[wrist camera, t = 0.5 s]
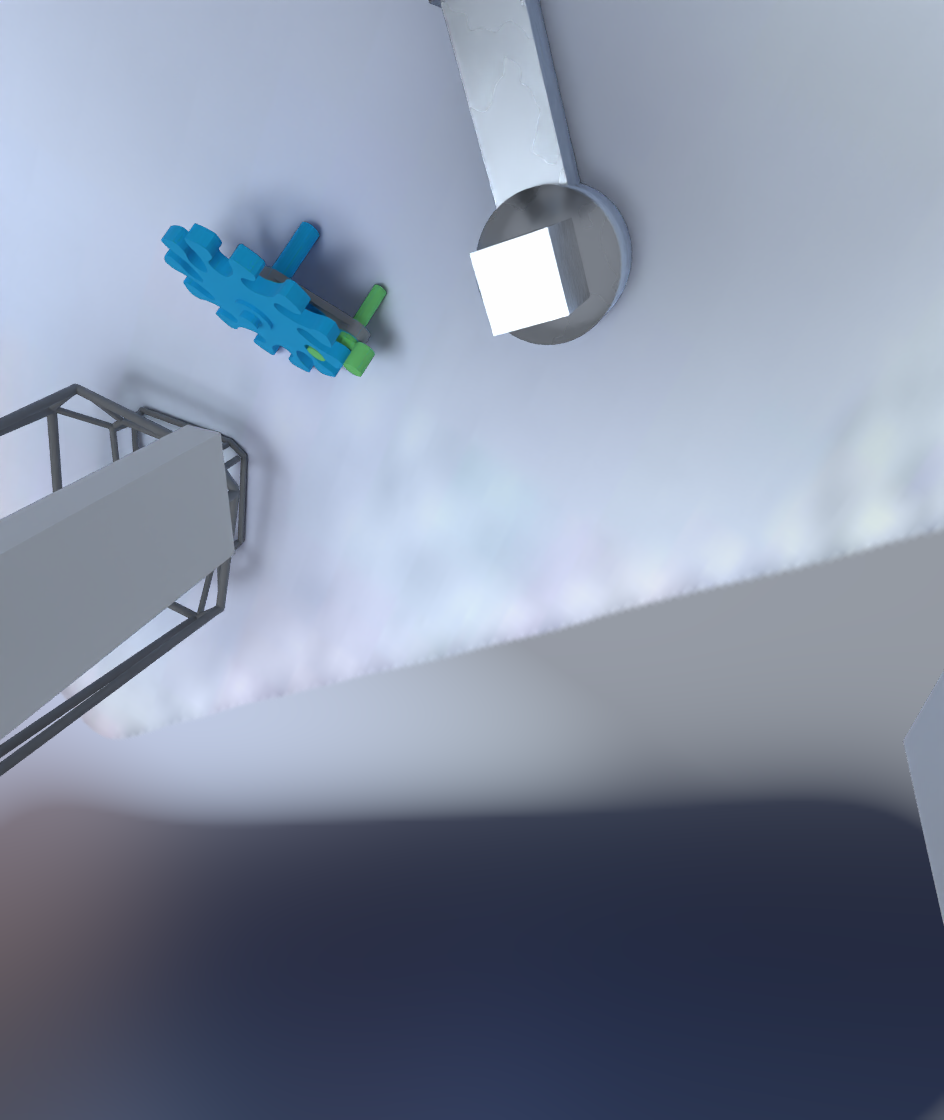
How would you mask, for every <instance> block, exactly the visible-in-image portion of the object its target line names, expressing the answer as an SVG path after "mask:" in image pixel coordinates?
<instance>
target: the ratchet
mask: <svg viewBox="0 0 944 1120" xmlns="http://www.w3.org/2000/svg"><path fill="white" fill-rule="evenodd" d="M429 3H430V4H433V5H435V6H438V7H440V8H442V10H443V14H444V17H445V21H446V25H447V28H448V32H449V36H450V39H451V43H452V47H453V50H454V54H455V58H456V61H457V65H458V69H459V73H460V76H461V80H462V84H463V87H464V91H465V95H466V98H467V102H468V106H469V109H470V113H471V117H472V120H473V124H474V128H475V131H476V135H477V139H478V142H479V146H480V150H481V153H482V157H483V161H484V164H485V168H486V172H487V175H488V179H489V183H490V186H491V190H492V194H493V197H494V201H495V205H496V208H497V209H496V210H495V211H494V213H493V214H492V215H491V217H490V218H489V220H488V221H487V223H486V225H485V227H484V229H483V231H482V234H481V236H480V239H479V243H478V247H477V251H476V252H473V253H470V258H471V261H472V264H473V268H474V271H475V275H476V279H477V284H478V288H479V292H480V295H481V297H482V300H483V302H484V305H485V309H486V312H487V316H488V319H489V322H490V326H491V329H492V333H493V336H497V335H500V334H504V333H507V332H509V333H510V334H512V335H513V336H515V337H517V338H519V339H521V340H524V341H527V342H530V343H534V344H541V345H555V344H561V343H565V342H568V341H571V340H574V339H576V338H578V337H580V336H582V335H583V334H585V333H586V332H588V331H589V330H590V329H592V328H593V327H594V326H595V325H596V324H597V323H598V322H599V321H600V320H601V319H602V318H603V317H604V316H605V315H606V314H607V312H608V311H609V310H610V309H611V308H612V307H613V306H614V305H615V303H616V302H617V300H618V299H619V298H620V296H621V294H622V292H623V290H624V288H625V286H626V283H627V281H628V278H629V274H630V269H631V261H632V247H631V240H630V235H629V232H628V228H627V226H626V223H625V221H624V219H623V217H622V215H621V214H620V212H619V210H618V209H617V208H616V206H615V205H614V204H613V203H612V202H611V201H610V200H609V199H608V198H607V197H606V196H605V195H603V194H602V193H601V192H599V191H598V190H596V189H594V188H592V187H590V186H587V185H584V184H581V183H580V179H579V174H578V170H577V166H576V161H575V157H574V152H573V148H572V144H571V139H570V135H569V130H568V126H567V122H566V117H565V113H564V108H563V104H562V99H561V95H560V91H559V86H558V82H557V77H556V73H555V69H554V64H553V60H552V55H551V51H550V47H549V42H548V38H547V33H546V29H545V24H544V20H543V16H542V11H541V7H540V2H539V0H429Z"/></svg>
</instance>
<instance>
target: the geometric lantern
mask: <svg viewBox="0 0 944 1120" xmlns="http://www.w3.org/2000/svg"><path fill="white" fill-rule="evenodd" d="M76 394H78V395H80V396H82V397H84V398H86V399H88V400H90V401H92V402H93V403H94V404H96V405H97V406H98V407H100V408H101V409H102V410H104V411H105V412H106V413H108V414H109V415H110V416H111V417H113V418H114V419H115V420H117V421H116V422H114V423H113V424H112V423H109V422H105V421H102V420H99V419H96V418H92V417H89V416H86V415H83V414H80V413H76V412H73V411H70V410H67V409H64V408H60V406H61V405H63V404H64V403H65V402H66V401H67V400H69V399H70V398H71V397H72V396H74V395H76ZM57 413H59V414H62V415H65V416H69V417H72V418H75V419H79V420H82V421H85V422H88V423H92V424H95V425H98V426H101V427H105V428H108V429H109V430H110V439H111V448H112V457H113V462H115V461H117V460H119V454H118V444H117V435H116V431H119V430H121V429H124V428H126V427H130V428H132V444H133V452H134V451H136V450H138V449H139V443H138V431H140V432H143V433H145V434H148V435H150V436H153V437H155V438H158V439H160V438H162V437H164V436H166V435H168V434H170V433H172V432H173V431H171V430H169V429H167V428H165V427H163V426H161V425H159V424H157V423H155V422H153V421H151V420H149V419H147V418H145V417H143V414H147V415H149V416H152V417H155V418H158V419H160V420H163V421H166V422H168V423H171V424H174V425H177V426H179V427H184V426H186V425H191V424H188V423H185V422H183V421H180V420H177V419H174V418H172V417H169V416H166V415H163V414H161V413H158V412H155V411H152V410H150V409H147V408H143V407H141V408H140V409H139V410H138V411H137V412H133V411H131V410H129V409H127V408H125V407H123V406H121V405H119V404H117V403H115V402H113V401H111V400H109V399H107V398H105V397H103V396H101V395H99V394H97V393H95V392H93V391H91V390H89V389H87V388H85V387H83V386H81V385H78V384H73V385H71V386H69V387H66V388H64V389H62V390H60V391H58V392H56V393H54V394H51V395H49V396H47V397H45V398H43V399H41V400H38V401H36V402H34V403H32V404H30V405H28V406H25V407H23V408H21V409H19V410H17V411H15V412H13V413H10V414H8V415H6V416H4V417H2V418H0V436H2V435H4V434H6V433H9V432H11V431H13V430H16V429H18V428H20V427H23V426H25V425H27V424H30V423H32V422H34V421H37V420H39V419H41V418H44V417H46V416H47V422H48V435H49V448H50V461H51V474H52V487H53V493H54V492H56V491H58V490H60V489H62V477H61V463H60V448H59V433H58V419H57ZM121 416H122V417H121ZM123 417H124V418H123ZM191 426H194V425H191ZM195 427H196V426H195ZM221 439H222V442H223V443H222V448H223V450H224V449H226V448H228V447H229V446H231V447H232V448H233V449H234V450H235V451H236V452H237V453H238V454H239V455H240V456H241V458H240V457H239V456H235V457H234V458H232V459H231V460H229V461H228V462H226V463H224V465H225V473H226V481H227V488H228V490H229V491H228V498H229V507H230V515H231V523H232V532H233V540H234V533H235V525H236V518H237V510H238V502H239V522H238V540H236V541H234V548H235V550H236V549H237V548H238V547H239V546H240V545H241V544H242V543H243V542H244V517H245V494H246V470H247V458H246V457H247V454H246V453H245V452H244V451H243V450H242V449H241V448H240V447H239V446H238V445H237V444H236V443H235V442H234V441H233V440H232V439H231V438H227V437H224V436H221ZM240 459H241V469H240V490H239V486H238V484H237V483H236V482H235V480H234V479H233V478H232V476H231V475H230V473H229V472H228V471H227V469H228V468H230V467H231V466H233V465H234V464H236V463H237V462H239V461H240ZM230 563H231V557H230V558H229V559H227V560H226V561H225V562H224V563H222V564H221V565H220V566H219V567H217V576H218V594H217V603H216V606H215V607H213V608H211V609H208V610H206V611H204V608H205V604H206V600H207V596H208V592H209V588H210V584H211V580H212V576H213V572H214V571H212V572H211V573H210V574H209V575H207V576H206V580H205V584H204V588H203V592H202V596H201V600H200V604H199V608H198V611H197V613H196V612H194V611H192V610H190V609H188V608H186V607H184V606H182V605H180V604H178V603H176V602H173V603H172V604H171V605H170V606H168V608H170V609H172V610H174V611H176V612H178V613H180V614H182V615H184V616H186V617H188V619H187V620H185V621H184V622H182V623H181V624H179V625H178V626H176V627H175V628H173V629H172V630H170V631H169V632H167V633H166V634H164V635H163V636H161V637H160V638H158V639H157V640H155V641H154V642H153V643H151V644H150V645H148V646H147V647H145V648H144V649H142V650H141V651H139V652H138V653H136V654H135V655H133V656H132V657H130V658H129V659H127V660H126V661H124V662H123V663H121V664H120V665H118V666H117V667H115V668H114V669H112V670H111V671H110V672H108V673H107V674H105V675H104V676H102V677H101V678H99V679H98V680H96V681H95V682H93V683H92V684H90V685H89V686H87V687H86V688H84V689H83V690H81V691H80V692H78V693H77V694H75V695H74V696H72V697H71V698H69V699H68V700H67V701H65V702H64V703H62V704H61V705H59V706H58V707H56V708H55V709H53V710H52V711H50V712H49V713H47V714H46V715H44V716H43V717H41V718H40V719H38V720H37V721H35V722H34V723H32V724H31V725H29V726H28V727H26V728H25V729H24V730H22V731H21V732H19V733H18V734H16V735H15V736H13V737H12V738H10V739H9V740H7V741H6V742H4V743H3V744H1V745H0V758H1V757H2V756H4V755H5V754H7V753H8V752H9V751H11V750H13V749H14V748H15V747H17V746H18V745H20V744H21V743H23V742H24V741H26V740H27V739H29V738H30V737H31V736H33V735H34V734H36V733H37V732H39V731H40V730H42V729H43V728H45V727H46V726H47V725H49V724H50V723H52V722H53V721H55V720H56V719H57V718H59V717H61V716H62V715H63V714H65V713H66V712H68V711H69V710H71V709H72V708H74V707H75V706H76V705H78V704H79V703H81V702H82V701H84V700H85V699H87V698H88V697H89V698H88V699H87V700H85V701H84V702H83V703H81V704H80V705H78V706H77V707H76V708H74V709H73V710H72V711H70V712H69V713H67V714H66V715H65V716H63V717H62V718H61V719H59V720H58V721H56V722H55V723H54V724H52V725H51V726H50V727H48V728H47V729H46V730H44V731H43V732H41V733H40V734H39V735H37V736H36V737H35V738H33V739H32V740H31V741H29V742H28V743H26V744H25V745H24V746H22V747H21V748H19V749H18V750H17V751H15V752H14V753H13V754H12V755H10V756H8V757H7V758H6V759H4V760H3V761H2V762H0V776H1V775H3V774H4V773H5V772H7V771H8V770H9V769H11V768H12V767H14V766H15V765H16V764H18V763H19V762H20V761H22V760H23V759H24V758H26V757H27V756H28V755H30V754H31V753H32V752H34V751H35V750H36V749H38V748H39V747H40V746H42V745H43V744H44V743H46V742H47V741H48V740H50V739H51V738H52V737H54V736H55V735H57V734H58V733H59V732H60V731H62V730H63V729H64V728H66V727H67V726H69V725H70V724H71V723H73V722H74V721H75V720H77V719H78V718H79V717H81V716H82V715H83V714H85V713H86V712H87V711H89V710H90V709H91V708H93V707H94V706H95V705H97V704H98V703H99V702H101V701H102V700H103V699H105V698H106V697H107V696H109V695H110V694H112V693H113V692H114V691H116V690H117V689H118V688H120V687H121V686H122V685H124V684H125V683H126V682H128V681H129V680H130V679H132V678H133V677H134V676H136V675H137V674H138V673H140V672H141V671H142V670H144V669H145V668H146V667H148V666H149V665H150V664H152V663H153V662H154V661H156V660H157V659H158V658H160V657H161V656H163V655H164V654H165V653H167V652H168V651H169V650H171V649H172V648H173V647H175V646H176V645H177V644H179V643H180V642H181V641H183V640H184V639H185V638H187V637H188V636H189V635H191V634H192V633H193V632H195V631H196V630H197V629H199V628H200V627H202V626H203V625H204V624H206V623H207V622H208V621H210V620H211V619H212V618H214V617H215V616H216V615H218V614H219V613H221V612H222V611H224V608H225V601H226V593H227V586H228V578H229V571H230ZM108 683H109V684H108ZM105 685H106V686H105ZM101 688H102V689H101ZM98 690H99V691H98ZM97 691H98V692H97ZM95 692H96V693H95ZM94 693H95V694H94ZM92 694H93V695H92ZM91 695H92V696H91ZM90 696H91V697H90Z"/></svg>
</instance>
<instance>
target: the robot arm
mask: <svg viewBox="0 0 944 1120" xmlns="http://www.w3.org/2000/svg"><path fill="white" fill-rule="evenodd" d="M234 554H235V548H234V540H233V532H232V523H231V515H230V507H229V498H228V490H227V481H226V473H225V465H224V456H223V448H222V439H221V433H220V432H216V431H212V430H208V429H203V428H199V427H195V426H191V425H186V426H184V427H182V428H180V429H178V430H176V431H174V432H172V433H170V434H168V435H166V436H164V437H162V438H160V439H158V440H156V441H154V442H152V443H150V444H148V445H146V446H144V447H142V448H140V449H138V450H136V451H134V452H132V453H130V454H128V455H127V456H125V457H123V458H121V459H119V460H117V461H115V462H113V463H111V464H109V465H107V466H105V467H103V468H101V469H99V470H97V471H95V472H93V473H91V474H89V475H87V476H85V477H83V478H81V479H79V480H77V481H75V482H73V483H71V484H69V485H67V486H65V487H63V488H62V489H60V490H58V491H56V492H54V493H52V494H50V495H48V496H46V497H44V498H42V499H40V500H38V501H36V502H34V503H32V504H30V505H28V506H26V507H24V508H22V509H20V510H18V511H16V512H14V513H12V514H10V515H8V516H6V517H4V518H2V519H0V740H1V739H2V738H4V737H5V736H6V735H7V734H9V733H10V732H11V731H12V730H14V729H15V728H16V727H17V726H19V725H20V724H21V723H22V722H24V721H25V720H26V719H27V718H29V717H30V716H31V715H33V714H34V713H35V712H36V711H37V710H39V709H40V708H41V707H42V706H44V705H45V704H46V703H48V702H49V701H50V700H51V699H53V698H54V697H55V696H56V695H57V694H59V693H60V692H61V691H63V690H64V689H65V688H67V687H68V686H69V685H70V684H72V683H73V682H74V681H75V680H77V679H78V678H79V677H80V676H82V675H83V674H84V673H85V672H87V671H88V670H89V669H90V668H92V667H93V666H94V665H95V664H97V663H98V662H99V661H100V660H102V659H103V658H104V657H105V656H107V655H108V654H109V653H111V652H112V651H113V650H114V649H116V648H117V647H118V646H119V645H121V644H122V643H123V642H124V641H126V640H127V639H128V638H129V637H131V636H132V635H133V634H134V633H136V632H137V631H138V630H139V629H141V628H142V627H143V626H144V625H146V624H147V623H148V622H149V621H151V620H152V619H153V618H155V617H156V616H157V615H158V614H160V613H161V612H162V611H163V610H165V609H166V608H167V607H168V606H170V605H171V604H172V603H173V602H175V601H176V600H177V599H178V598H180V597H181V596H182V595H183V594H185V593H186V592H187V591H188V590H190V589H191V588H192V587H193V586H195V585H196V584H197V583H199V582H200V581H201V580H202V579H204V578H205V577H206V576H207V575H209V574H210V573H211V572H212V571H214V570H215V569H216V568H217V567H219V566H220V565H221V564H222V563H224V562H225V561H226V560H227V559H229V558H230V557H231V556H232V555H234ZM903 743H904V748H905V752H906V757H907V761H908V766H909V770H910V775H911V779H912V784H913V788H914V793H915V797H916V802H917V806H918V810H919V815H920V820H921V824H922V829H923V833H924V837H925V842H926V846H927V851H928V856H929V860H930V864H931V869H932V874H933V878H934V883H935V887H936V891H937V896H938V900H939V905H940V909H941V914H942V918H943V923H944V671H943V672H942V674H941V676H940V678H939V679H938V681H937V683H936V685H935V686H934V688H933V690H932V691H931V693H930V695H929V697H928V698H927V700H926V702H925V704H924V705H923V707H922V709H921V711H920V712H919V714H918V716H917V718H916V719H915V721H914V723H913V725H912V726H911V728H910V730H909V732H908V733H907V735H906V737H905V738H904V740H903Z"/></svg>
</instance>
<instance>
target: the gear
mask: <svg viewBox="0 0 944 1120" xmlns="http://www.w3.org/2000/svg"><path fill="white" fill-rule="evenodd" d="M318 237H319V233H318V231H317V230H316V229H315V228H314V227H313V226H312V225H311V224H309V223H307V222H302V223H301V225H300V226H299V228H298V229H297V231H296V232H295V234H294V235H293V237H292V238H291V240H290V241H289V243H288V244H287V246H286V247H285V249H284V250H283V252H282V253H281V255H280V256H279V257H278V259H277V260H276V262H275V263H274V265H273V266H272V268H271V267H268V266H265V261H264V260H263V259H261V258H260V257H259V256H258V255H257V254H255V253H254V252H253V251H251V250H250V249H249V248H247V247H246V246H244V245H243V244H239V245H238V247H237V248H236V250H235V251H234V253H233V254H232V256H231V257H230V258H229V259H228V258H227V257H225V256H224V255H223V254H222V253H221V252H220V250H219V247H220V246H221V244H222V242H221V240H220V238H219V237H218V236H217V235H216V234H215V233H214V232H212V231H210V230H209V229H207V228H205V227H203V226H201V225H198V224H196V223H195V224H194V225H193V227H192V228H191V230H190V231H189V232H188V231H187V230H186V229H185V228H183V227H181V226H177V225H174V226H171V227H170V228H169V229H168V231H167V232H166V234H165V235H164V237H163V238H162V239H161V241H162V242H163V243H164V244H165V245H166V246H167V247H168V248H169V251H168V252H167V253H166V255H165V262H166V263H167V264H169V265H170V266H171V267H172V268H174V269H175V270H177V271H179V272H181V273H183V274H184V275H186V276H187V277H186V279H185V280H184V284H185V286H186V287H187V289H188V290H189V291H190V292H191V293H192V294H193V295H194V296H196V297H198V298H200V299H203V300H207V301H209V302H212V303H214V304H216V305H217V306H219V307H220V308H219V309H218V311H217V312H216V314H217V315H218V316H219V317H220V318H221V319H222V320H223V321H224V322H225V323H226V324H227V325H229V326H230V327H232V328H234V329H237V328H238V327H244V328H247V329H249V330H252V331H254V332H256V333H258V335H257V336H256V338H255V339H254V342H255V343H256V344H257V345H258V346H260V347H261V348H263V349H264V350H265V351H267V352H269V353H270V354H272V355H274V354H275V353H276V351H277V350H278V348H279V347H280V346H282V347H284V348H285V349H287V350H288V351H289V352H290V353H291V355H290V357H289V360H290V362H291V363H292V364H294V365H295V366H297V367H299V368H301V369H303V370H305V371H307V372H310V370H311V369H312V367H313V366H315V367H316V369H317V370H319V371H320V372H321V373H322V374H325V375H328V376H332V377H335V376H336V375H337V373H338V372H339V370H340V368H341V367H342V366H343V365H344V367H345V368H346V369H347V370H348V371H349V372H351V373H352V374H354V375H356V376H359V377H361V376H362V374H363V373H364V371H365V369H366V368H367V366H368V365H369V363H370V361H371V360H372V358H373V357H374V355H375V353H374V351H373V350H372V349H371V348H370V347H369V346H367V345H366V342H367V341H368V339H369V337H370V333H369V331H368V330H367V328H366V325H367V324H368V322H369V320H370V319H371V317H372V316H373V314H374V312H375V311H376V309H377V308H378V306H379V305H380V303H381V301H382V300H383V298H384V297H385V295H386V291H385V290H384V289H383V288H382V287H380V286H379V285H374V286H373V288H372V289H371V291H370V293H369V294H368V296H367V297H366V299H365V300H364V302H363V303H362V305H361V307H360V308H359V310H358V311H357V313H356V314H355V316H354V318H352V317H351V316H349V315H347V314H346V313H344V312H343V311H341V310H339V309H338V308H336V307H335V306H333V305H331V304H330V303H328V302H327V301H325V300H323V299H322V298H320V297H319V296H317V295H315V294H314V293H312V292H310V291H309V290H307V289H306V288H304V287H302V286H301V285H299V284H298V283H296V282H295V281H293V280H291V278H292V277H293V275H294V274H295V272H296V271H297V269H298V267H299V266H300V264H301V263H302V261H303V260H304V258H305V257H306V255H307V254H308V252H309V251H310V249H311V248H312V246H313V245H314V243H315V242H316V240H317V239H318Z"/></svg>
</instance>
